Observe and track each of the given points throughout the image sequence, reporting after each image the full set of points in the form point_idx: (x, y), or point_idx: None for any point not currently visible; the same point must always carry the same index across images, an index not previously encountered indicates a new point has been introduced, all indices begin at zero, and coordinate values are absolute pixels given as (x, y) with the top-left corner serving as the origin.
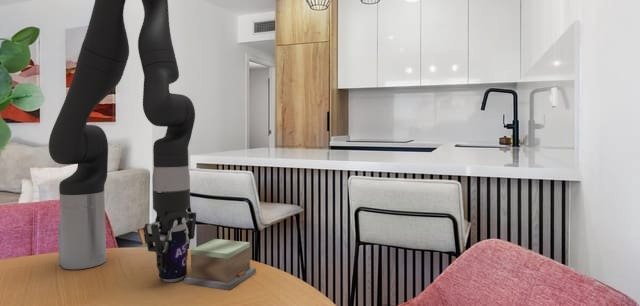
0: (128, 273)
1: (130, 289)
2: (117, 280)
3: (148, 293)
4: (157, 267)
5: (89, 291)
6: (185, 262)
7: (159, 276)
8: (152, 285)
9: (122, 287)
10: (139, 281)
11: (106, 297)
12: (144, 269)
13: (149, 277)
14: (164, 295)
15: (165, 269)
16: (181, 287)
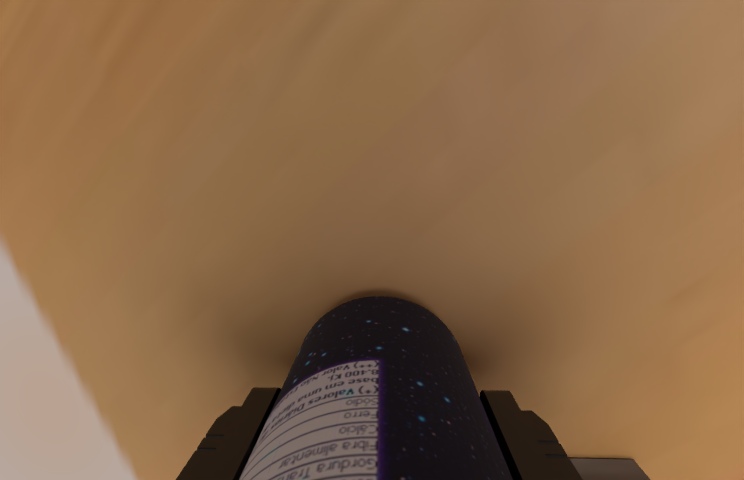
0: (355, 11)
1: (159, 252)
2: (224, 53)
3: (165, 376)
4: (228, 411)
5: (21, 42)
6: None
7: (308, 334)
8: (254, 322)
9: (157, 185)
10: (270, 207)
11: (24, 216)
12: (463, 59)
13: (346, 215)
14: (183, 458)
15: None
16: None
